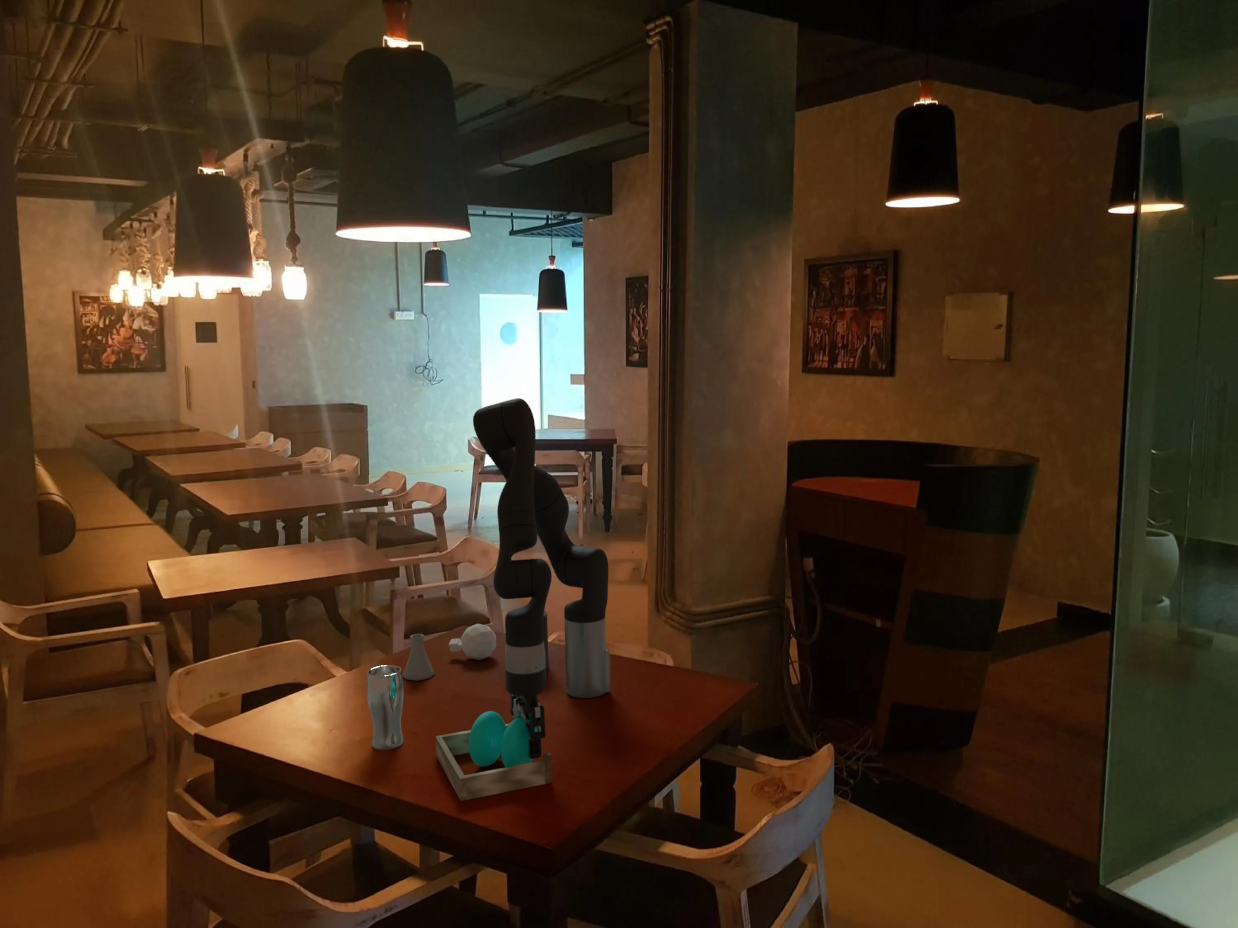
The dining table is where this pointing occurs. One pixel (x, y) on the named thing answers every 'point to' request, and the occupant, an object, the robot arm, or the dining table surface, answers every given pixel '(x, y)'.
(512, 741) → the teal diabolo
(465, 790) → the box
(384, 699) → the beer glass
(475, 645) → the perfume bottle
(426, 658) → the flask
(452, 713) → the dining table surface
